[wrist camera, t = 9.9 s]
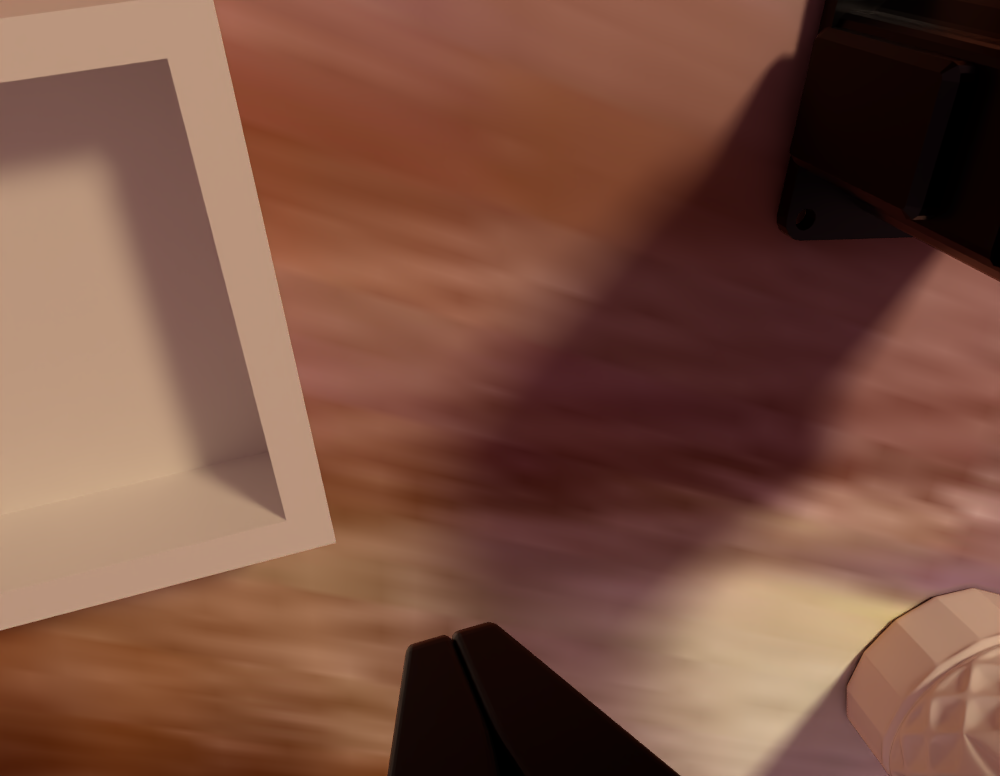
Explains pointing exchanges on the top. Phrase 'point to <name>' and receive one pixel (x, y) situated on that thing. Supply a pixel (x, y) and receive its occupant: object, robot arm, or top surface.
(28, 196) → the box
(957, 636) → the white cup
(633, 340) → the top surface
